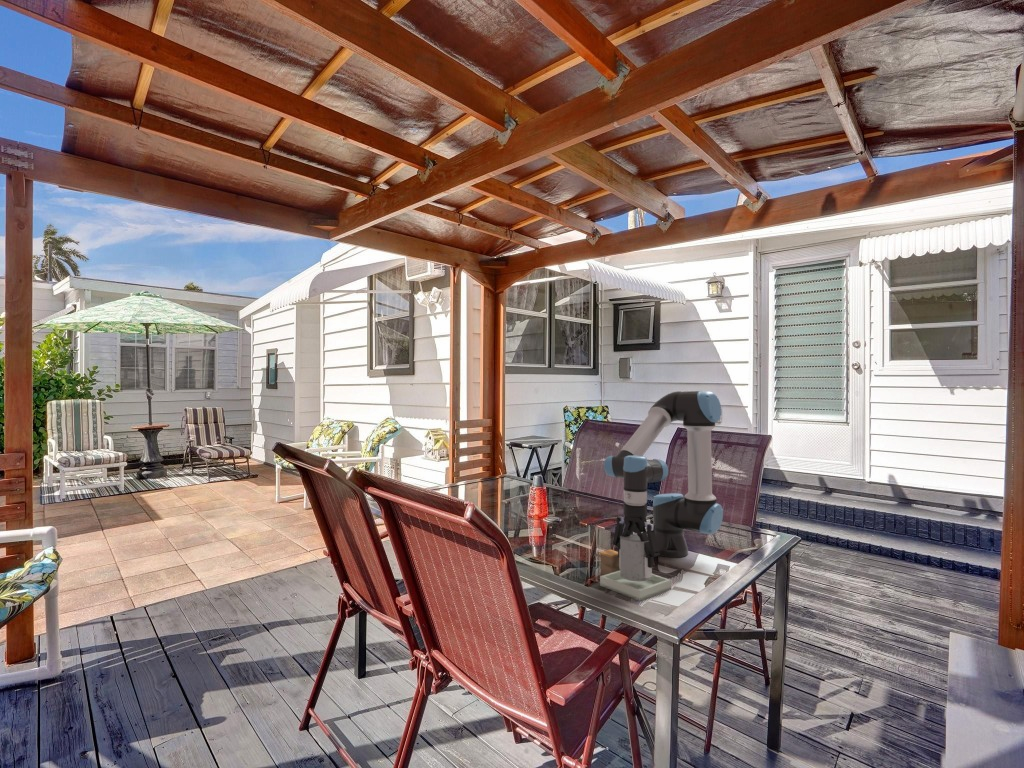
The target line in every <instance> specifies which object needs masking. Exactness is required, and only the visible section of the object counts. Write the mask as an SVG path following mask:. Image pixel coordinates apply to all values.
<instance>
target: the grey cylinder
mask: <svg viewBox="0 0 1024 768" xmlns="http://www.w3.org/2000/svg"><path fill="white" fill-rule="evenodd" d="M645 542H648V541H645ZM646 556H647V555H646V553H645V550H644V542H641V540H640V537H639V536H638V535H637V533H633V534H632V533H631V534H630V536H626V537H623V536H620V576H621V577H622V578H624V579H626V580H630V581H647V580H649V579H650V577H649V578H645V557H646Z"/></svg>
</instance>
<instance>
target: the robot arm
mask: <svg viewBox="0 0 1024 768" xmlns="http://www.w3.org/2000/svg"><path fill="white" fill-rule="evenodd" d="M721 416H722V406H721V402H720V400H719V398H718V396H717V395H716V394H715V393H714V392H712V391H707V390H705V391H704V390H698V391H697V390H693V391H692V390H691V391H688V390H687V391H686V390H685V391H673V392H670V393H668V394H666V395H664V396H662V397H661V398H660V399H658V400H657V401H656V402H655V403H653V405H652V406H651V407H650V409H648V412H647V417H646V418H645V419H644V420H643V421H642V423H641V424H640V425H639V427H638V428H637V429H636V430H635V432H634V433H633V434H632V436H631V437H629V439H628V441H627V442H626V443H625V444H624V446H623V447H622V448H621V449H620V450H619V452H618V453H616V454H617V455H610V456H607V457H606V458H605V459H604V461H603V462H604V463H603V470H604V472H605V475H607V476H608V477H613V478H617V479H623V502H624V504H623V515H622V516H617V517H616V526H615V532H614V537H613V540H612V545H614V546H615V547H616V548H617V552H618V558H619V569H620V536H623V537H626V536H630V534H632V533H633V534H637V535H638V536H639V537H640V540H641V542H644V550H645V553H646V555H647V556H646V557H645V578H649V577H652V574H653V572H652V571H653V568H654V566H655V563H654V558H655V557H658V556H660V557H664V558H665V557H667V558H682V557H686V556H688V555H689V547H688V545H687V540H686V538H685V535H684V530H686V531H691V532H696V533H700V534H706V535H713V534H716V533H717V531H719V529H720V528H721V525H722V523H723V518H724V509H723V506H722V504H719V503H718V502H717V497H716V495H714V494H713V477H712V476H713V475H712V471H713V470H712V469H713V468H712V467H713V466H712V465H713V463H712V431H713V430H714V428H716V423H717V422H719V421H720V419H721ZM676 421H679V422H682V426H683V427H684V428H685V429H686V431H687V433H686V434H687V489H688V490H687V492H686V493H685V495H683V494H682V493H677V492H676V493H674V492H673V493H671V492H670V493H661V494H657V495H655V496H654V497H653V500H652V501H653V503H652V521H653V523H649V522H648V521H647V515H648V505H647V503H648V484H651V483H659V482H661V481H664V480H666V478H667V477H668V476H669V467H668V465H667V463H666V462H665V461H664V460H662V459H661V458H659V459H657V458H653V459H648V458H647V457H646V456H644V455H645V453H646V452H647V451H648V450H649V448H650V447H651V446H652V445H653V443H654V441H655V440H657V439H656V438H657V437H658V436H659V435H660V434H661V432H662V431H663V429H664V428H666V427H668V426H670V424H671V423H673V422H676ZM645 541H648V542H645Z"/></svg>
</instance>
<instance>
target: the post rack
mask: <svg viewBox="0 0 1024 768" xmlns="http://www.w3.org/2000/svg"><path fill="white" fill-rule="evenodd" d="M599 553H600V574H601V576H603V575H606V574H610V573H613V572H616V571H619V570H620V569H619V558H618V550H614V549H607V550H604V551H603V550H602V551H600V552H599Z"/></svg>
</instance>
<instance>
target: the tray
mask: <svg viewBox="0 0 1024 768" xmlns="http://www.w3.org/2000/svg"><path fill="white" fill-rule="evenodd" d="M599 585H600V587H602V588H605V589H608V590H611V591H613V592H616V593H618V594H620V595H623V596H625V597H629V598H631V599H633V600H635V601H638V602H641V601H644V600H646V599H650V598H652V597H655V596H657V595H660V594H662V593H665V592H668V591H671V590H672V579H669V578H666V577H663V576H660V575H657V574H655V573H652V577H650V579H649V580H647V581H630V580H626V579H624V578H622V577H621V576H620V570H619V571H616V572H613V573H610V574H606V575H600V576H599Z"/></svg>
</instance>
